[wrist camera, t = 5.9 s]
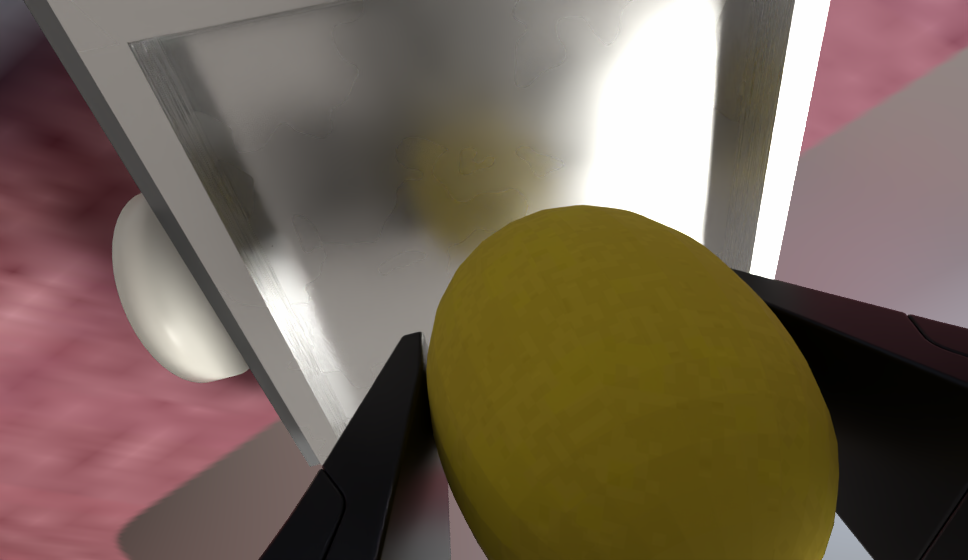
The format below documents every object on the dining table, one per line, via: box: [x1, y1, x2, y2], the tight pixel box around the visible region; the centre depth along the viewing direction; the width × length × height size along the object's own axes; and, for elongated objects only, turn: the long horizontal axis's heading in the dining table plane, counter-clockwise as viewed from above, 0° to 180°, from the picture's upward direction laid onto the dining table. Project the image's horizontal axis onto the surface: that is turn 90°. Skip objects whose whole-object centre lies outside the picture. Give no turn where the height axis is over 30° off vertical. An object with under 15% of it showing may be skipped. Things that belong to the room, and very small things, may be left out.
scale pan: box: [47, 0, 830, 465], centre depth 12 cm, size 14×14×2 cm
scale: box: [23, 0, 321, 466], centre depth 14 cm, size 19×16×6 cm
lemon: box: [426, 205, 839, 560], centre depth 7 cm, size 6×6×8 cm
